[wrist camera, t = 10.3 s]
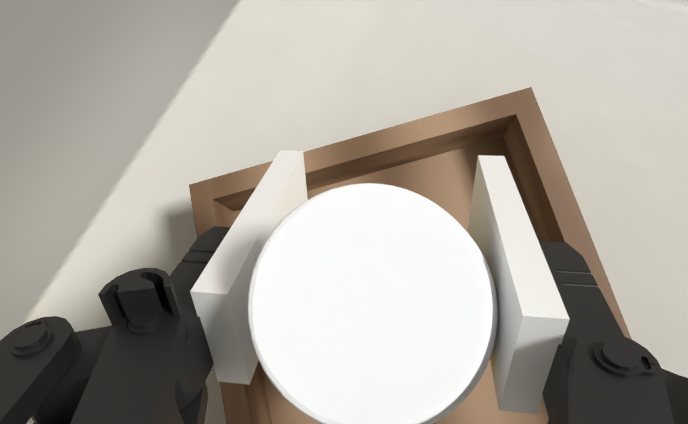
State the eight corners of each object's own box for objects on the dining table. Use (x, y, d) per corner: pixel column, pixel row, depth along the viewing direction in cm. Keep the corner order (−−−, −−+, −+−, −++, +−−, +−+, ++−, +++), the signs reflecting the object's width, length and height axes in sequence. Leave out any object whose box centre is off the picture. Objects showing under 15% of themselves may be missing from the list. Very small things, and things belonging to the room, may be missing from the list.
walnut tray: (512, 121, 22) (530, 87, 19) (638, 457, 18) (691, 490, 15) (220, 203, 23) (189, 184, 20) (278, 534, 19) (251, 581, 16)
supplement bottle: (480, 273, 16) (597, 220, 7) (422, 412, 15) (463, 577, 6) (350, 215, 17) (293, 101, 8) (290, 342, 16) (143, 386, 7)
